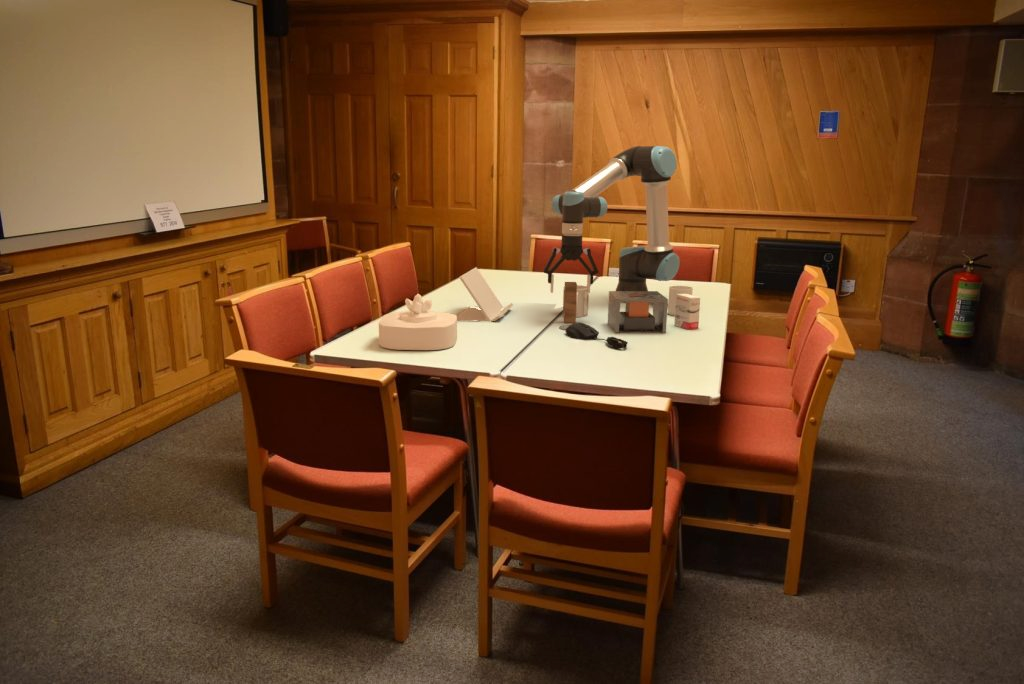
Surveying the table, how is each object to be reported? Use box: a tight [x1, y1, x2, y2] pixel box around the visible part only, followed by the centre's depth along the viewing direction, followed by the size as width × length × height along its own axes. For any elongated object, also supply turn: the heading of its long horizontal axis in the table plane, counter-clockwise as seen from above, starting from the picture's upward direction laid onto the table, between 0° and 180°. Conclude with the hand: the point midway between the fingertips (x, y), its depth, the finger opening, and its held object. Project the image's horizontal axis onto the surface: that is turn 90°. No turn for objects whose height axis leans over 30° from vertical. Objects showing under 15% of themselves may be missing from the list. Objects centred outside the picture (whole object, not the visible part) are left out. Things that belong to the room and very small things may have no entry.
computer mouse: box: [565, 322, 629, 349], centre depth 263 cm, size 8×28×5 cm, turn 40°
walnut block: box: [563, 281, 578, 325], centre depth 289 cm, size 4×4×15 cm
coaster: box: [558, 324, 570, 331], centre depth 281 cm, size 8×8×1 cm
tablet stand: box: [456, 266, 514, 322], centre depth 301 cm, size 18×25×17 cm
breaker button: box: [624, 302, 650, 317], centre depth 280 cm, size 7×7×6 cm
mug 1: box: [562, 284, 590, 318], centre depth 302 cm, size 10×12×11 cm
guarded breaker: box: [607, 290, 669, 334], centre depth 281 cm, size 16×18×12 cm
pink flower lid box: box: [378, 293, 458, 351], centre depth 259 cm, size 25×25×16 cm
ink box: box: [674, 294, 701, 331], centre depth 284 cm, size 8×5×12 cm, turn 26°
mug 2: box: [667, 285, 693, 317], centre depth 306 cm, size 12×9×11 cm
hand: (570, 292), depth 288 cm, fingers open, 13 cm apart
